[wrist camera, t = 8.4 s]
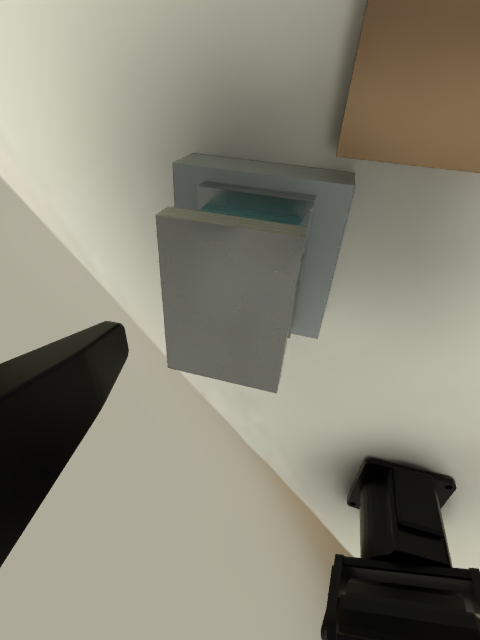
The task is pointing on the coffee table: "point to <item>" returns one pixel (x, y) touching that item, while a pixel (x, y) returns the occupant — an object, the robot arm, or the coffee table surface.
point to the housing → (233, 280)
